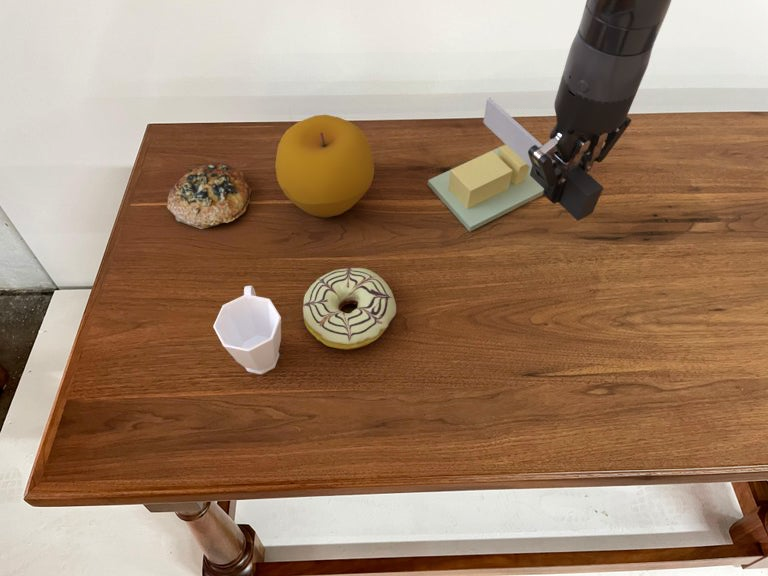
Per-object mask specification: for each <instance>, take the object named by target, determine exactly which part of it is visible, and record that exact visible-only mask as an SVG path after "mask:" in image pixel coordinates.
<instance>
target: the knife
mask: <svg viewBox="0 0 768 576" xmlns="http://www.w3.org/2000/svg"><path fill="white" fill-rule="evenodd" d="M482 123H483V124H484V125H485V126H486V128H488V129H489V130H490V131H491V132H492V133H493V134H494V135H495V136H496V137H498V139H500V141H501V142H502V143H504V145H505V144H506V145H507V146H508V147H509V148H510V149H511V150H512V151H514V152H515V153H516V154H517V155H518V156H519V157H520V158H521V159H522V160H523V161H524V162H525V163H526V164H527V165H528V166H529V167H530V168H531V172H530V176H531V177H532V178H533V179H534V180H535V181H536V182H537V183H538V184H539V185H541V186H542V187H543V188H544V187H545V184H546V183H545V182H544V181H543V180H542V179H541V178H540V177H538V176H537V175H536V174H535V172H534V169H533V166H532V163H531V160H530V157H529V155H528V151H529V149H530V148H531V147H532V146H534V145H536V146H537V147H538V148H541V147H542V146H543V145H544V144H542V143H541V142H540V141H538V139H536V138H535V137H534V135H532V134H531V133H530V132H529V131H528V130H527V129H526V128H524V127H523V126H522V125H521V124H520V123H519V122H518V121H516V120H515V119H514V118H513V116H511V115H510V114H509V113H508V112H507V111H506V110H505V109H503V108H502V107H501V106H500V105H499V104H497V102H496V101H494V100H493V99H492V98H491V97H489V98H487V99H486V103H485V110H484V116H483V122H482ZM557 168H558V169H560V170H562V169H561V167H560V166H559V165H558V166H557ZM603 190H604V186H603V185H602V184H600V183H599V182H598V181H597V180H596V179H595V178H594V177H592V176H591V174H589V173H588V172H586V171H585V170H583V169H582V168H581V167H580V166H579V165H578V166H577V168H576V169H574V170H571V172H570V174H569V177H568V179H567V181H566V185H565V188H564V191H563V194H562V196H561V199H560V201H559V202H558V203H557V204H559V205H560V206H561V207H562V208H563V209H564V210H566V211H567V213H569V215H570V216H571V217H573V218H574V219H575V220H576V221H577V222H579V221H580V220H582V219H585V218H587V217H588V216H590V215H592V214H593V213H594V210H595V209H596V206H597V203H598V202H599V199H600V196H601V195H602V192H603Z"/></svg>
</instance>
